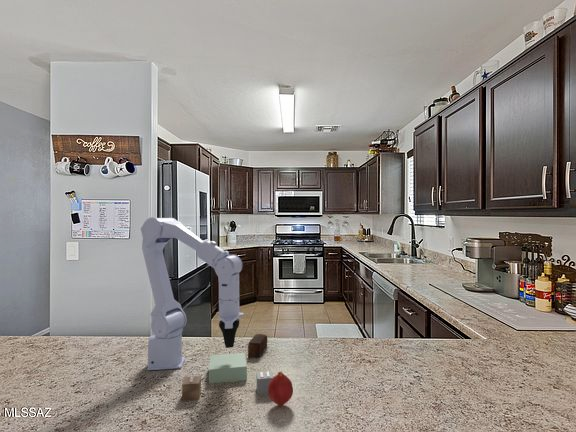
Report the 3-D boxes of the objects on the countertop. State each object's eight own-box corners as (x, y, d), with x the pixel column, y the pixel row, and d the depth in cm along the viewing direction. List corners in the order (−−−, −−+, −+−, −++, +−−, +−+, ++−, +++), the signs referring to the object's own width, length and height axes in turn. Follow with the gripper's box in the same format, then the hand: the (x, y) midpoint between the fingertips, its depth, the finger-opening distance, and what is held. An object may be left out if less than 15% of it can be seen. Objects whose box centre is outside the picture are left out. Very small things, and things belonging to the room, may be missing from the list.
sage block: (208, 384, 95) (208, 369, 95) (210, 369, 105) (210, 355, 105) (247, 381, 96) (246, 366, 97) (244, 366, 106) (244, 352, 106)
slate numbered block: (257, 395, 88) (257, 378, 88) (256, 387, 92) (256, 371, 92) (273, 393, 89) (273, 376, 89) (272, 386, 93) (271, 370, 93)
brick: (260, 358, 112) (259, 343, 112) (247, 357, 112) (247, 342, 112) (267, 346, 122) (267, 332, 122) (256, 345, 123) (256, 332, 123)
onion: (267, 399, 86) (267, 366, 86) (291, 398, 86) (291, 365, 86) (268, 413, 80) (268, 377, 80) (294, 411, 80) (293, 375, 80)
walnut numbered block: (182, 401, 86) (182, 383, 86) (184, 393, 90) (184, 376, 90) (199, 399, 86) (199, 382, 86) (200, 392, 90) (200, 375, 90)
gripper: (243, 303, 95) (244, 355, 95) (242, 292, 109) (243, 337, 109) (216, 305, 94) (217, 357, 94) (219, 293, 108) (219, 338, 108)
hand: (229, 346), depth 101 cm, fingers closed
